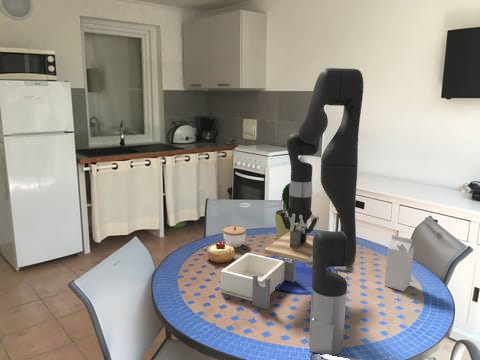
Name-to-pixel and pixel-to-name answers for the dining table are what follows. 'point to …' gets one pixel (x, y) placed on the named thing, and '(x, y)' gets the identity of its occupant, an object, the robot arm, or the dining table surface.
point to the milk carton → (399, 263)
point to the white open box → (256, 277)
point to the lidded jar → (234, 235)
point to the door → (293, 248)
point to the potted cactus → (279, 222)
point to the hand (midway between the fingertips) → (298, 242)
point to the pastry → (220, 252)
